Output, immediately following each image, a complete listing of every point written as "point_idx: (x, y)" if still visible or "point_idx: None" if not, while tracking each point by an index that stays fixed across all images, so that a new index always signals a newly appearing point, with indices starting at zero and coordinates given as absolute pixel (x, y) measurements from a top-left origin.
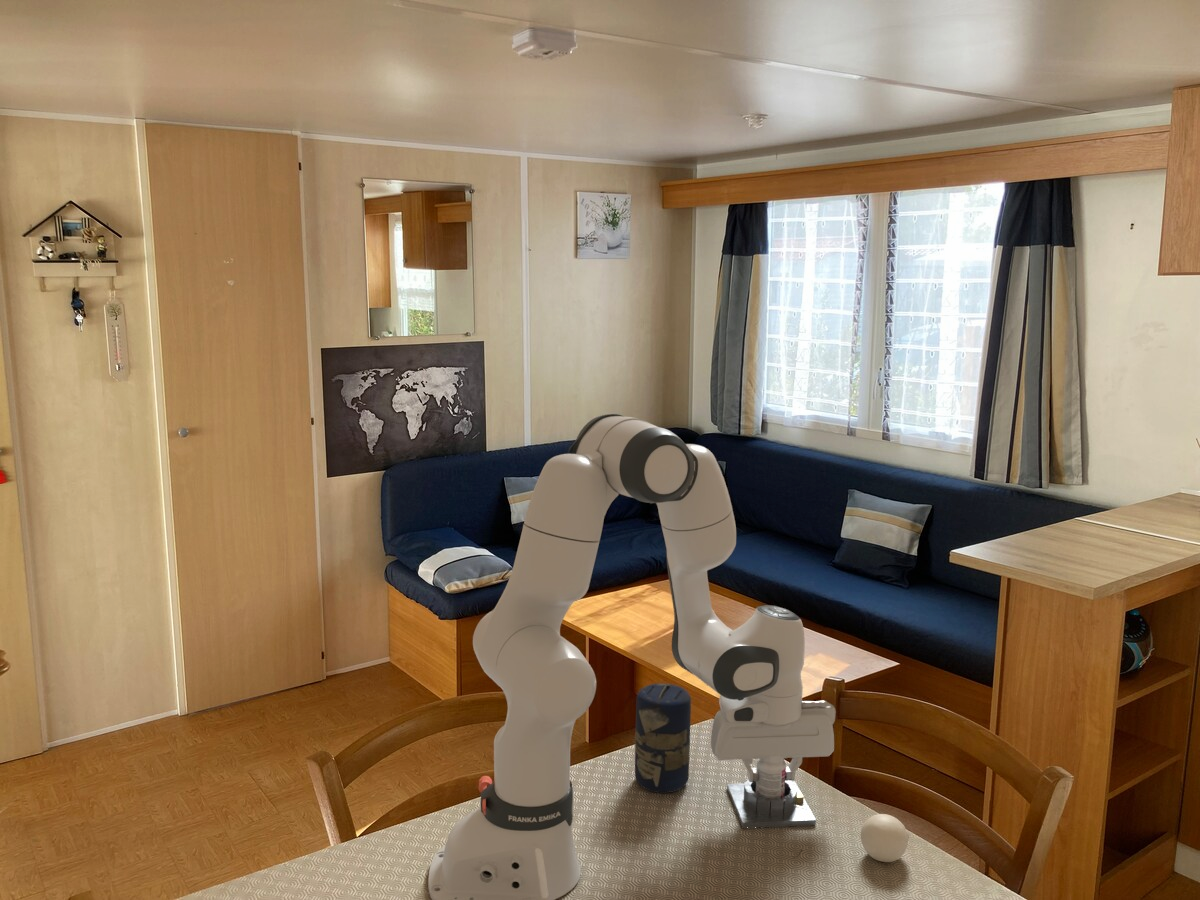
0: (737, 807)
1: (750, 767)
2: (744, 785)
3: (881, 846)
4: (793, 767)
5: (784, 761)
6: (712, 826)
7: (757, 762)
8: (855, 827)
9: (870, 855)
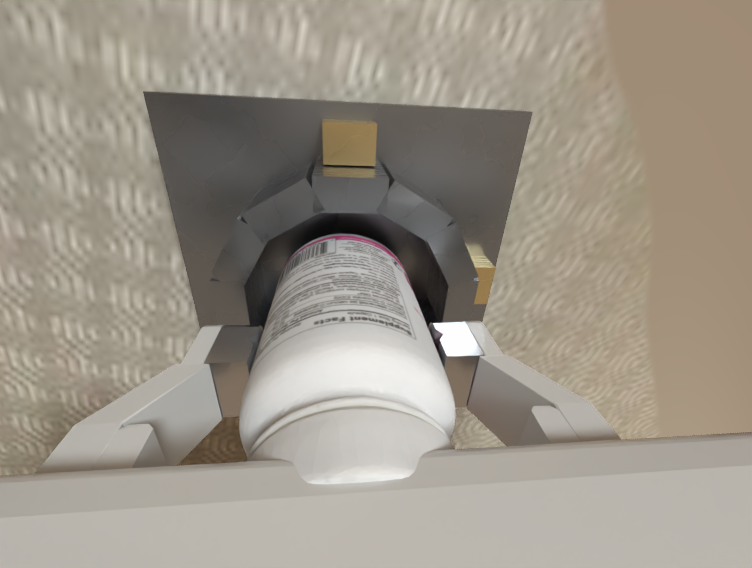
0: (198, 307)
1: (178, 463)
2: (210, 282)
3: None
4: (490, 426)
5: (450, 437)
6: (109, 359)
7: (239, 423)
8: (568, 377)
9: None
